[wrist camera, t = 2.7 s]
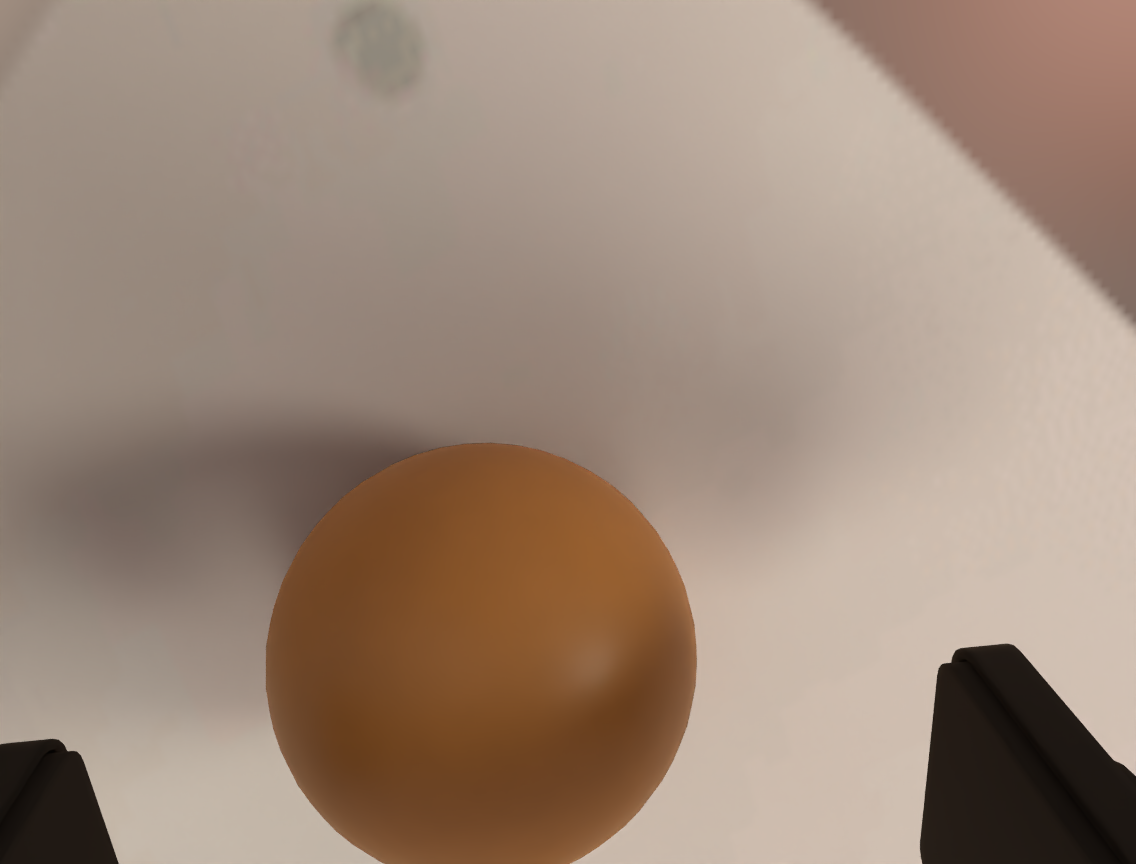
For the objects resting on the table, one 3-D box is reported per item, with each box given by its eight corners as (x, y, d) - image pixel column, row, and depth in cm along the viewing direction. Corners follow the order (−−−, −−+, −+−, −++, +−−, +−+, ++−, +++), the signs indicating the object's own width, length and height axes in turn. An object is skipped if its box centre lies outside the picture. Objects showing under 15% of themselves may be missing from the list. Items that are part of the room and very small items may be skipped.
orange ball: (337, 706, 16) (271, 1022, 11) (275, 402, 14) (155, 618, 9) (661, 670, 16) (744, 961, 11) (650, 367, 14) (747, 556, 9)
